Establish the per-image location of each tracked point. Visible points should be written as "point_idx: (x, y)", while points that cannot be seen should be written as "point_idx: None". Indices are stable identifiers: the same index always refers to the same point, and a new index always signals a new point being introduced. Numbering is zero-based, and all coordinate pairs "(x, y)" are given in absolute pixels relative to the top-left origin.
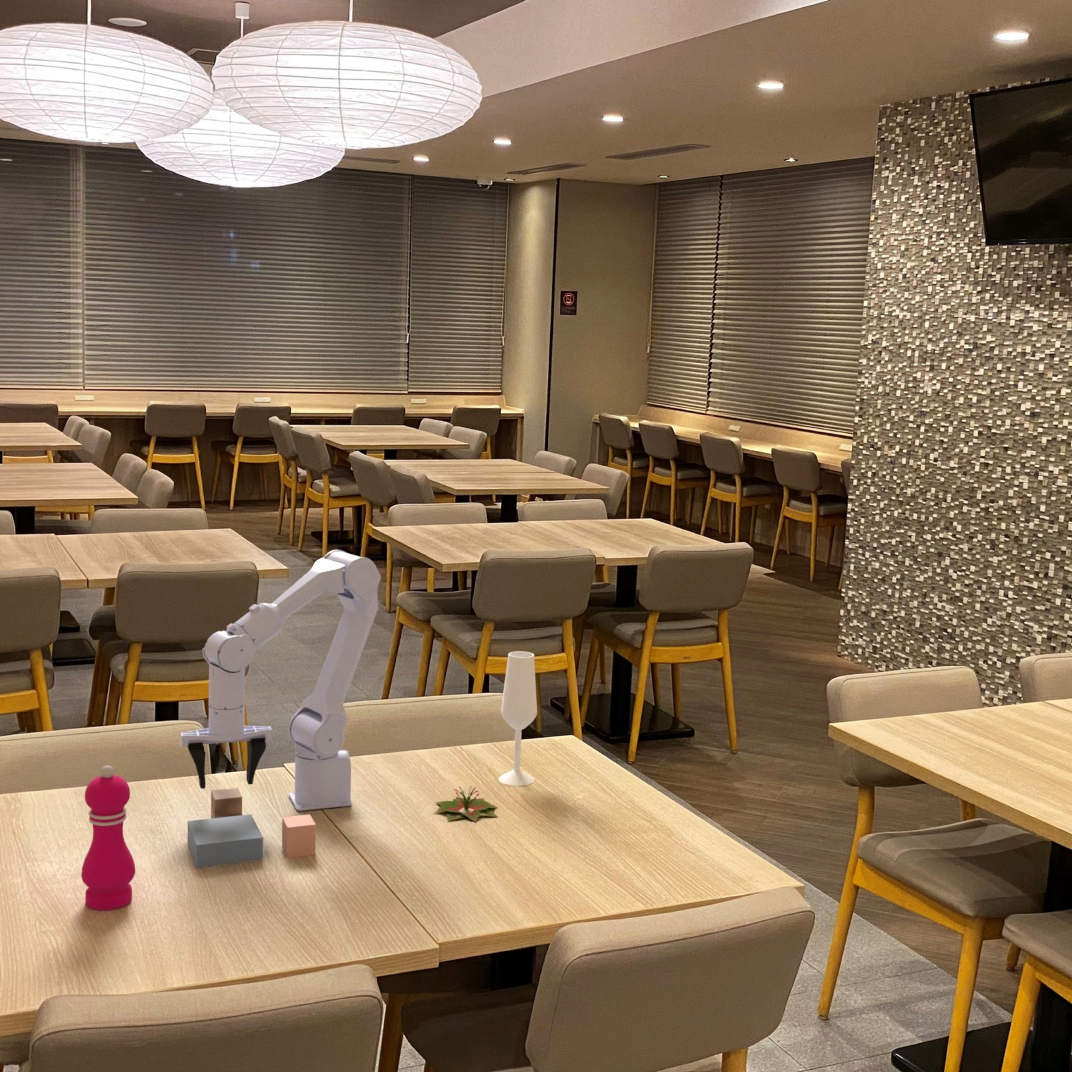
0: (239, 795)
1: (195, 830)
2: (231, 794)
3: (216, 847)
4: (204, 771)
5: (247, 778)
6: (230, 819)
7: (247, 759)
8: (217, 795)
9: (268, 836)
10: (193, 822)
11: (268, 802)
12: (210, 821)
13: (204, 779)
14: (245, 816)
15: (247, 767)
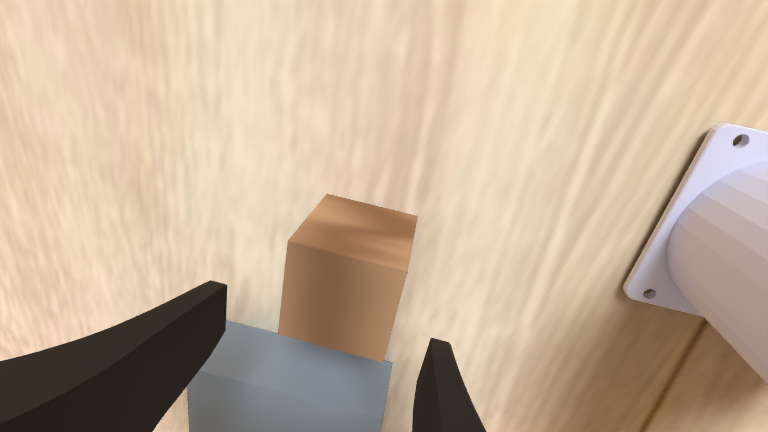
0: (379, 344)
1: (199, 426)
2: (354, 320)
3: None
4: (163, 415)
5: (424, 371)
6: (309, 417)
7: (439, 421)
8: (298, 302)
9: None
10: (201, 383)
11: (587, 146)
12: (250, 401)
13: (193, 373)
14: (359, 421)
15: (431, 397)
